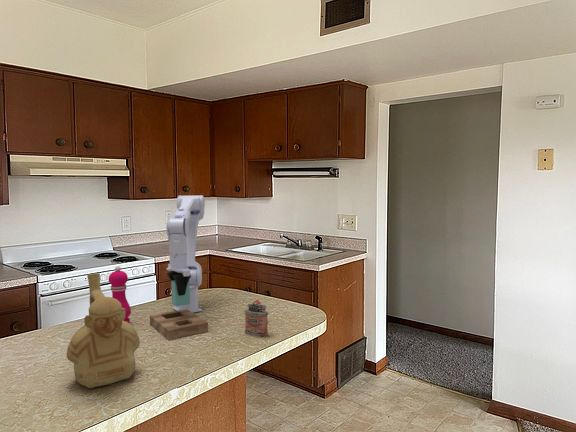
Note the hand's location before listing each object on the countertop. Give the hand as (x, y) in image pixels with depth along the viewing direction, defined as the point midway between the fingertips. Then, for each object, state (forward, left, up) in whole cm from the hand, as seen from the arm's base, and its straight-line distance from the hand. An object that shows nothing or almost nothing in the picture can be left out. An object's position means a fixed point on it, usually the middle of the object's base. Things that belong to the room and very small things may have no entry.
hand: (179, 293), depth 151 cm
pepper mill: (-10, -17, -10) cm, 23 cm away
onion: (+14, +22, -10) cm, 28 cm away
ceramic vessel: (+28, -30, -11) cm, 42 cm away
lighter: (+24, +16, -11) cm, 30 cm away
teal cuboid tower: (0, 0, -4) cm, 4 cm away
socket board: (+4, -2, -10) cm, 11 cm away
